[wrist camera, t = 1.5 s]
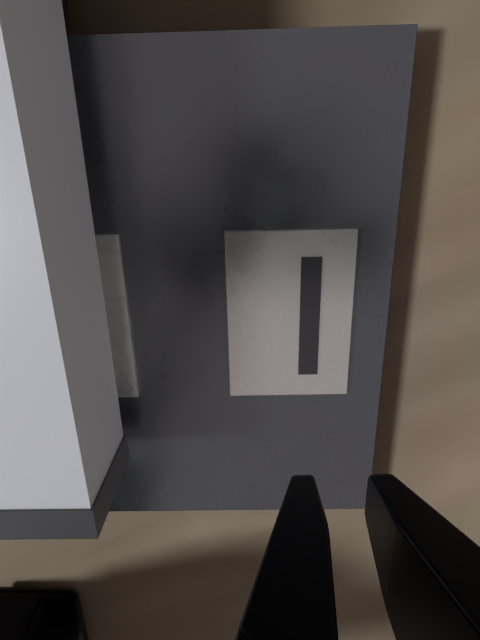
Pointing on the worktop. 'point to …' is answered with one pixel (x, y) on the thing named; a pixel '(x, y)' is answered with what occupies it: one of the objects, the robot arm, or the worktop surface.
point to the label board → (245, 252)
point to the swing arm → (50, 298)
